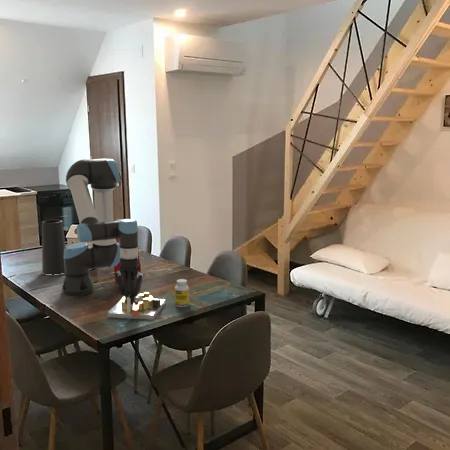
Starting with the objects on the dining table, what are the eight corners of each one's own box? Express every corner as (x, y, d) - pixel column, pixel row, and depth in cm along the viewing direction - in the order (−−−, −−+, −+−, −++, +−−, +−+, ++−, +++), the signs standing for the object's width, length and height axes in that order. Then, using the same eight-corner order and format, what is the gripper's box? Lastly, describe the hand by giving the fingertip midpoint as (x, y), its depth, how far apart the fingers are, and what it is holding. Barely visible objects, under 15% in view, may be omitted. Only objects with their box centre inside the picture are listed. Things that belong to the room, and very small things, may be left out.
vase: (73, 271, 286) (70, 220, 280) (53, 277, 275) (50, 224, 269) (57, 267, 293) (53, 218, 287) (37, 273, 282) (33, 221, 276)
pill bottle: (172, 306, 231) (171, 281, 229) (178, 301, 237) (178, 277, 235) (185, 308, 229) (185, 283, 226) (191, 303, 235) (191, 279, 232)
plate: (107, 317, 218) (107, 303, 217) (123, 301, 238) (123, 288, 237) (154, 319, 215) (154, 306, 214) (166, 303, 235) (166, 290, 234)
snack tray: (123, 300, 232) (123, 291, 231) (153, 299, 233) (153, 290, 233) (118, 317, 212) (118, 307, 211) (151, 316, 213) (151, 306, 212)
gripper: (110, 257, 210) (112, 312, 214) (138, 260, 206) (139, 316, 210) (119, 253, 217) (120, 306, 221) (147, 256, 213) (148, 310, 217)
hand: (130, 311), depth 216 cm, fingers closed
